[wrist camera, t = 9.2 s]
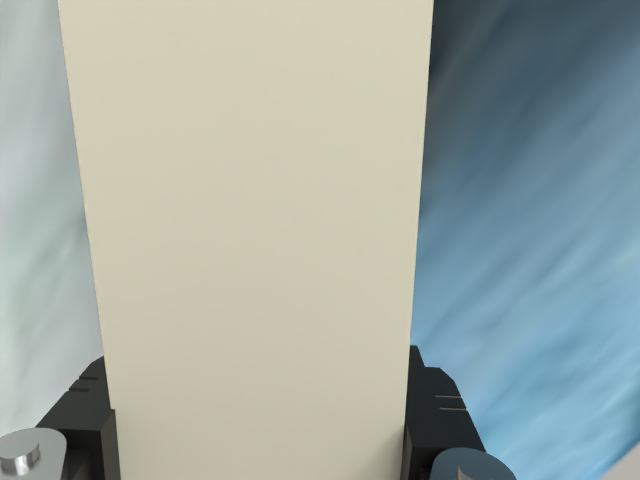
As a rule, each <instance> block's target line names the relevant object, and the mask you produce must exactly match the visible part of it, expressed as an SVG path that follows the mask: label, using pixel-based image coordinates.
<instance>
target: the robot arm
mask: <svg viewBox="0 0 640 480" xmlns="http://www.w3.org/2000/svg"><path fill="white" fill-rule="evenodd" d="M0 480H121V473H120V462H119V450H118V438H117V426H116V414H115V409H111V406H110V398H109V391H108V383H107V375H106V368H105V360H104V356H102V357H101V358H99V359H97V360H95V361H94V362H92V363H91V364H90V365H89V366H88V367H87V368H86V370H85V371H84V372H83V373H82V374H81V375H80V376H79V380H76V381H75V382H74V383H73V384H72V386H71V387H70V388H69V391H66V392H65V394H64V395H63V396H62V397H61V398H60V399H59V400H58V402H57V403H56V404H55V405H54V406H53V407H52V408H51V409H50V411H49V412H48V413H47V414H46V415H45V416H44V417H43V419H42V420H41V421H40V422H39V423H38V424H37V425H36V427H35V428H30V429H24V430H20V431H16V432H13V433H10V434H8V435H5V436H3V437H1V438H0ZM400 480H517V479H516V477H515V476H514V474H513V472H512V471H511V470H510V469H509V468H508V467H507V466H506V465H505V464H504V463H503V462H501V461H500V460H499V459H497V458H495V457H494V456H492V455H490V454H487V453H486V450H485V448H484V446H483V444H482V442H481V439H480V437H479V435H478V433H477V430H476V428H475V426H474V424H473V422H472V419H471V417H470V415H469V413H468V411H466V406H465V404H464V402H463V400H462V398H461V395H460V393H459V391H458V389H457V386H456V384H455V382H454V380H453V379H452V378H450V377H449V376H448V375H447V374H446V373H445V372H444V371H442V370H441V369H440V368H436V367H425V366H424V363H423V361H422V358H421V355H420V352H419V350H418V347H417V346H416V345H410V350H409V364H408V379H407V393H406V408H405V423H404V437H403V452H402V465H401V473H400Z"/></svg>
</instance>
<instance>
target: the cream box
mask: <svg viewBox="0 0 640 480" xmlns="http://www.w3.org/2000/svg"><path fill="white" fill-rule="evenodd" d="M433 1H434V0H57V3H58V10H59V18H60V26H61V33H62V41H63V48H64V56H65V64H66V71H67V79H68V86H69V94H70V102H71V109H72V117H73V125H74V132H75V140H76V147H77V155H78V163H79V170H80V178H81V185H82V193H83V201H84V208H85V216H86V223H87V231H88V239H89V246H90V254H91V261H92V269H93V277H94V284H95V292H96V299H97V307H98V315H99V322H100V330H101V337H102V345H103V353H104V360H105V368H106V375H107V383H108V391H109V398H110V406H111V409H115V414H116V426H117V438H118V450H119V462H120V473H121V480H400V473H401V465H402V452H403V437H404V423H405V408H406V393H407V379H408V364H409V350H410V335H411V321H412V306H413V292H414V277H415V263H416V248H417V234H418V219H419V204H420V190H421V175H422V161H423V146H424V132H425V117H426V103H427V88H428V74H429V59H430V45H431V30H432V16H433Z"/></svg>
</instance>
